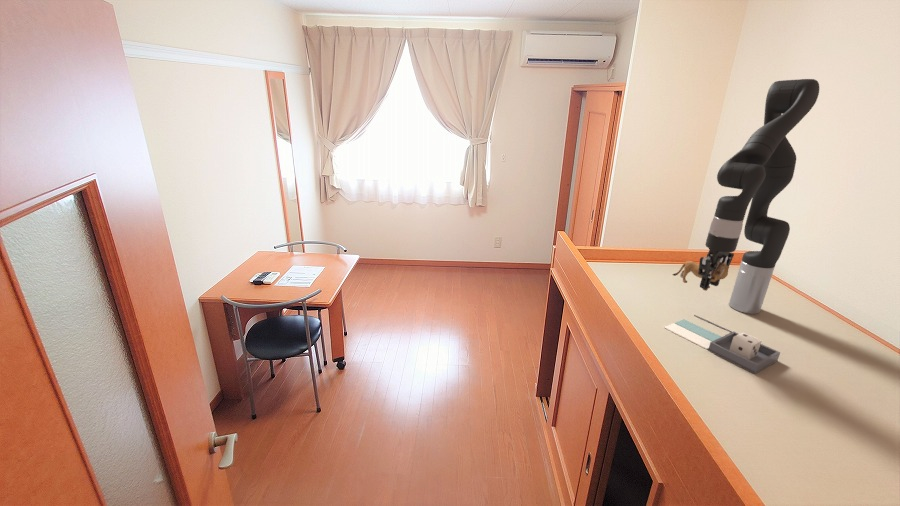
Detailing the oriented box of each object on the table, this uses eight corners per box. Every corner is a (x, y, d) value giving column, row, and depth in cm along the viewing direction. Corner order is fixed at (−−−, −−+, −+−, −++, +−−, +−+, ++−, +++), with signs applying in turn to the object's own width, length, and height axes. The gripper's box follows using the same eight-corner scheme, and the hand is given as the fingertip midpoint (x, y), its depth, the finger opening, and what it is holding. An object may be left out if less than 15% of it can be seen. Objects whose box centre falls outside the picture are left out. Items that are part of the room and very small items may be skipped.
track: (694, 315, 137) (694, 314, 137) (737, 334, 126) (737, 333, 126) (664, 327, 129) (664, 327, 129) (706, 349, 118) (706, 348, 118)
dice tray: (730, 339, 123) (733, 331, 122) (777, 360, 113) (780, 352, 112) (708, 350, 117) (710, 342, 116) (754, 374, 107) (757, 365, 106)
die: (737, 346, 118) (742, 331, 117) (757, 355, 114) (762, 340, 112) (728, 351, 116) (733, 336, 114) (748, 360, 112) (753, 345, 110)
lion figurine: (725, 291, 120) (733, 263, 117) (718, 295, 117) (726, 267, 114) (675, 274, 131) (682, 249, 128) (667, 278, 128) (674, 252, 125)
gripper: (724, 227, 121) (709, 278, 127) (696, 232, 115) (682, 286, 121) (751, 233, 115) (734, 287, 121) (724, 240, 109) (707, 296, 115)
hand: (708, 286), depth 121 cm, fingers closed on lion figurine, 4 cm apart
